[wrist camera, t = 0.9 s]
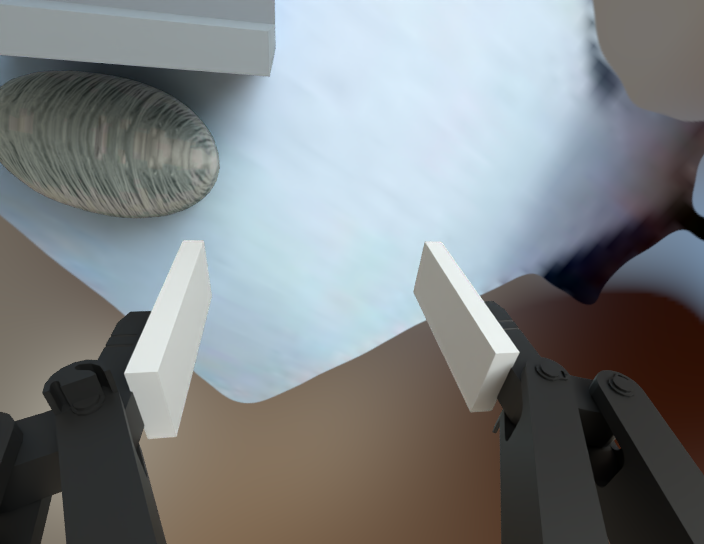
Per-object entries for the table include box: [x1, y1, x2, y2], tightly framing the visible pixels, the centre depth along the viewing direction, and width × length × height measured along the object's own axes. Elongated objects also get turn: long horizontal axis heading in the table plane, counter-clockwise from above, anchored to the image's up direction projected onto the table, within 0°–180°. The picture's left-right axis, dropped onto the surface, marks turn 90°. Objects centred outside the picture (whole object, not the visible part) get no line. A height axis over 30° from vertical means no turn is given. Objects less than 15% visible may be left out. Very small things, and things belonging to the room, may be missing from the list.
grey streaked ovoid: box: [0, 71, 220, 218], centre depth 26 cm, size 14×10×10 cm
